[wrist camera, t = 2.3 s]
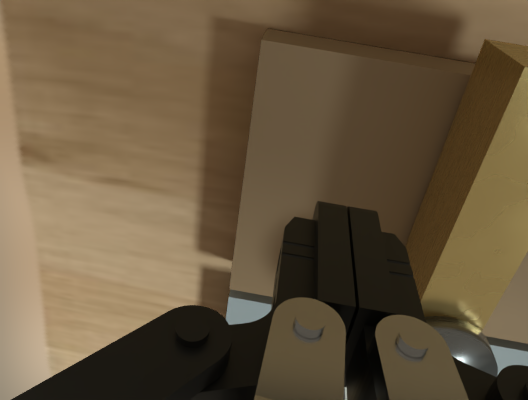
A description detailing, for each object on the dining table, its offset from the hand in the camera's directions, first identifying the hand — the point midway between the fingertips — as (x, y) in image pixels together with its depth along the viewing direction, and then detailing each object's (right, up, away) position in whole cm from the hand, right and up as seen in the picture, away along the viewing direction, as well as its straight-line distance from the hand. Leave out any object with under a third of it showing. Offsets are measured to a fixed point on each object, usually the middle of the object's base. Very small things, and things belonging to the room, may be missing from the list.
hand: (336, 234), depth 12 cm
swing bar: (+7, 0, +10) cm, 12 cm away
